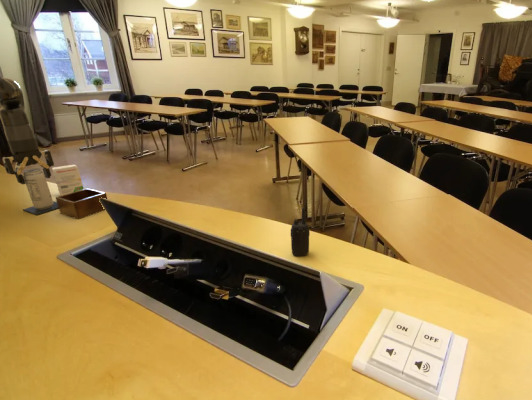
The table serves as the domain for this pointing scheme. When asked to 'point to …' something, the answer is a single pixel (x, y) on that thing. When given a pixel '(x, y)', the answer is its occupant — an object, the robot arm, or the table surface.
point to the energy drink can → (38, 189)
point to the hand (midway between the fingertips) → (35, 180)
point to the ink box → (67, 179)
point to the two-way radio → (300, 236)
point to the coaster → (38, 212)
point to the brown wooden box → (80, 203)
